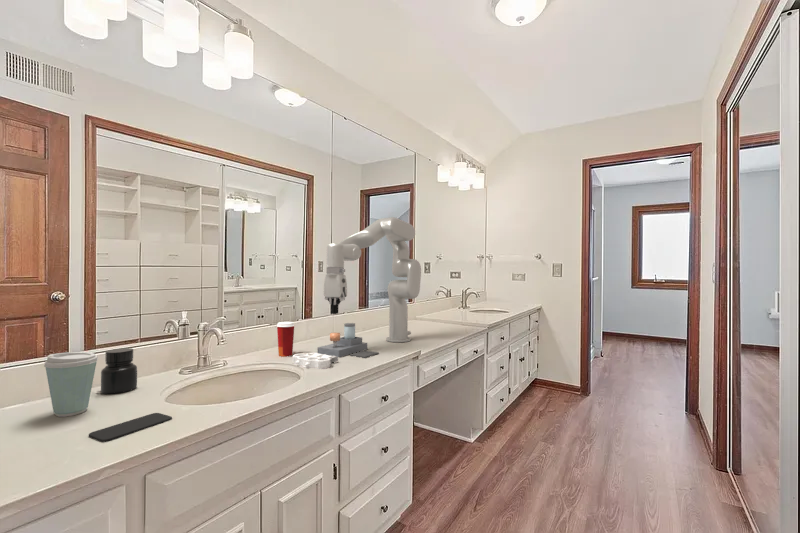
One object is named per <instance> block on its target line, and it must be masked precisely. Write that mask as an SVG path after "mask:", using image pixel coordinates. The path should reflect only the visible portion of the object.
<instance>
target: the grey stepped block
mask: <svg viewBox="0 0 800 533" xmlns="http://www.w3.org/2000/svg"><path fill="white" fill-rule="evenodd" d="M363 350H364V351H368V342H363V337H361V336H355V339H352V340H349V339H344V336H340V341H337V348H333V343H330V344H326V345H321V346H318V347H317V353H318V354H326V355H329V356H336V357H339V358H342V356H343V357H346V356H350V355H349V354H352V353H353V354H354V353H356V352H359V351H360V352H361V351H363ZM345 355H346V356H345Z"/></svg>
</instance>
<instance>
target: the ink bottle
mask: <svg viewBox="0 0 800 533" xmlns="http://www.w3.org/2000/svg"><path fill="white" fill-rule="evenodd" d="M104 359H105V367H104V368H102V369H101V371H100V393H102V394H106V395H107V394H108V395H111V394H112V395H113V394H114V395H115V394H121V393H126V392H130V391H133V390H134V389H136V388H137V387H138V366H137V365H136V364H134V362H133V361H134V348H130V347H128V348H127V347H126V348H125V347H124V348H122V347H121V348H115V349H109V350H106V351H105V358H104Z"/></svg>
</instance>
